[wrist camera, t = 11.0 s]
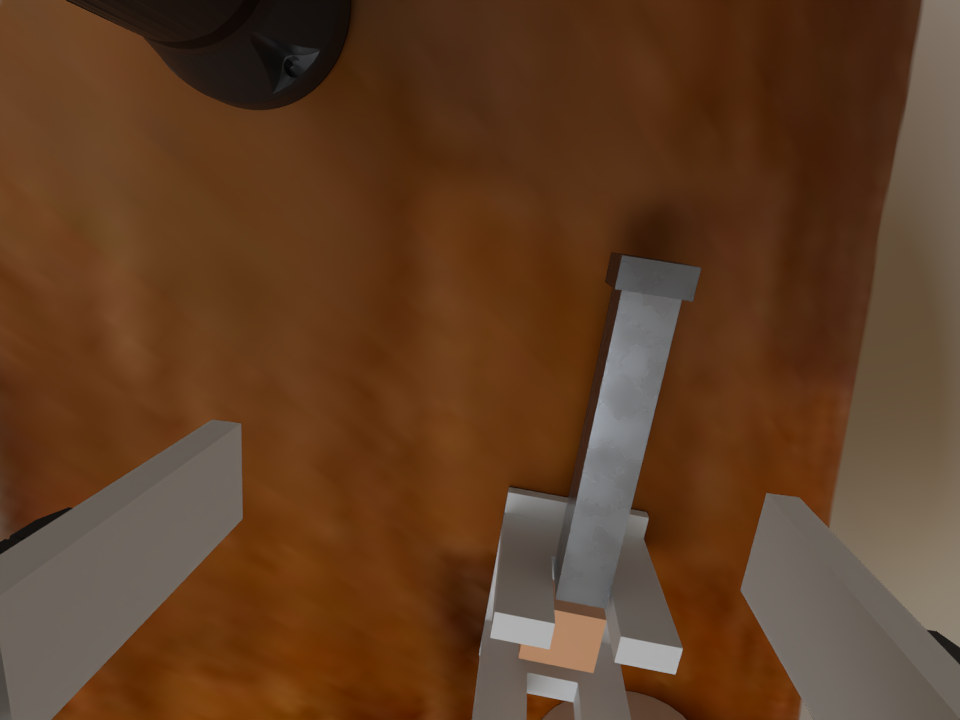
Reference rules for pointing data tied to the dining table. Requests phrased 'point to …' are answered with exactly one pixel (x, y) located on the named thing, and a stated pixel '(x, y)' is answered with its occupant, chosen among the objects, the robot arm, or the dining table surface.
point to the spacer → (571, 637)
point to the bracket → (531, 619)
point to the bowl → (645, 711)
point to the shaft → (618, 421)
